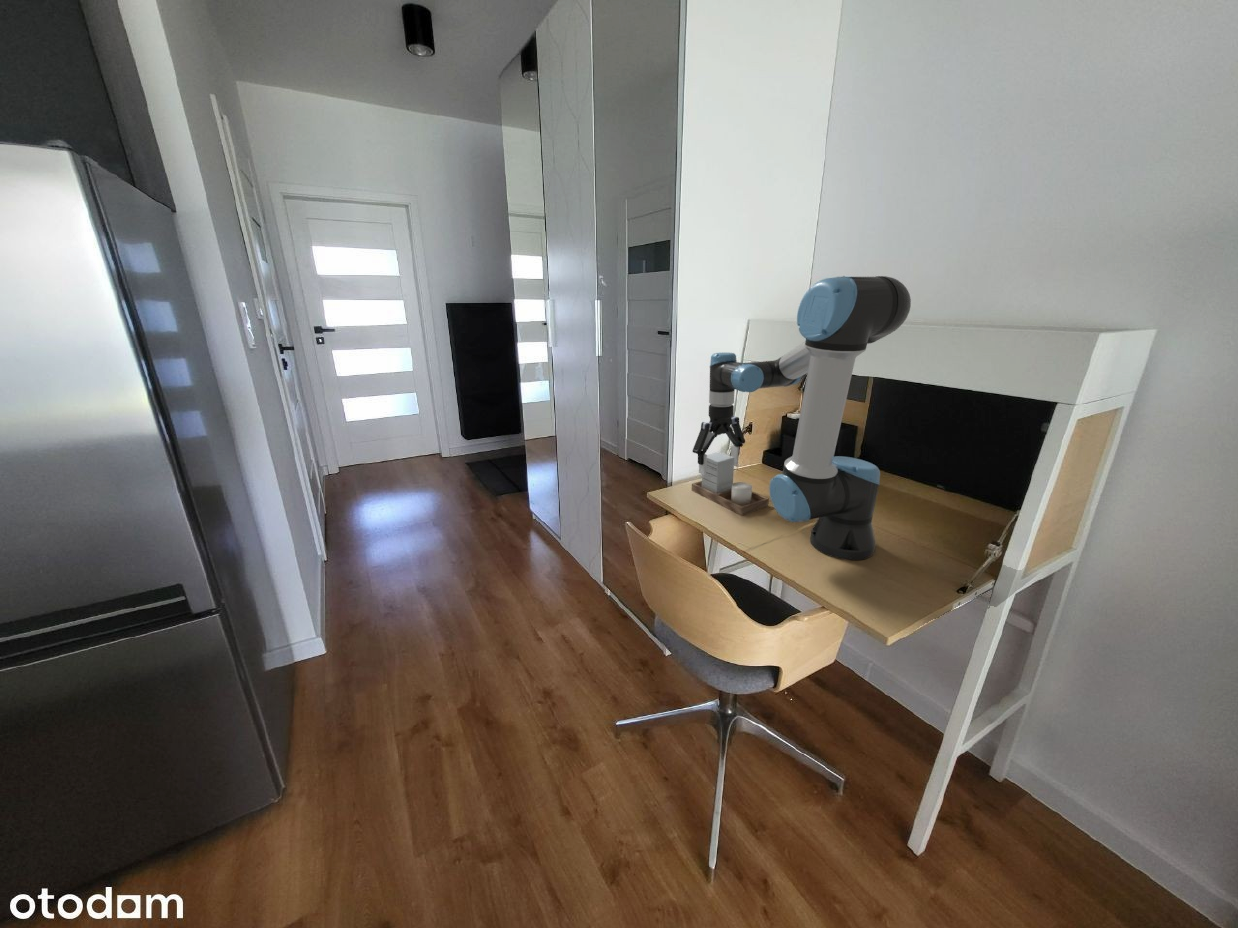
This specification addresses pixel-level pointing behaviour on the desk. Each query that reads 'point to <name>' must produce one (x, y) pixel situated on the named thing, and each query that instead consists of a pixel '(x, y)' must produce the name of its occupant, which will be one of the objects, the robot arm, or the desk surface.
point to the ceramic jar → (741, 493)
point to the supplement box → (718, 473)
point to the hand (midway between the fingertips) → (718, 469)
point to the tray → (725, 499)
